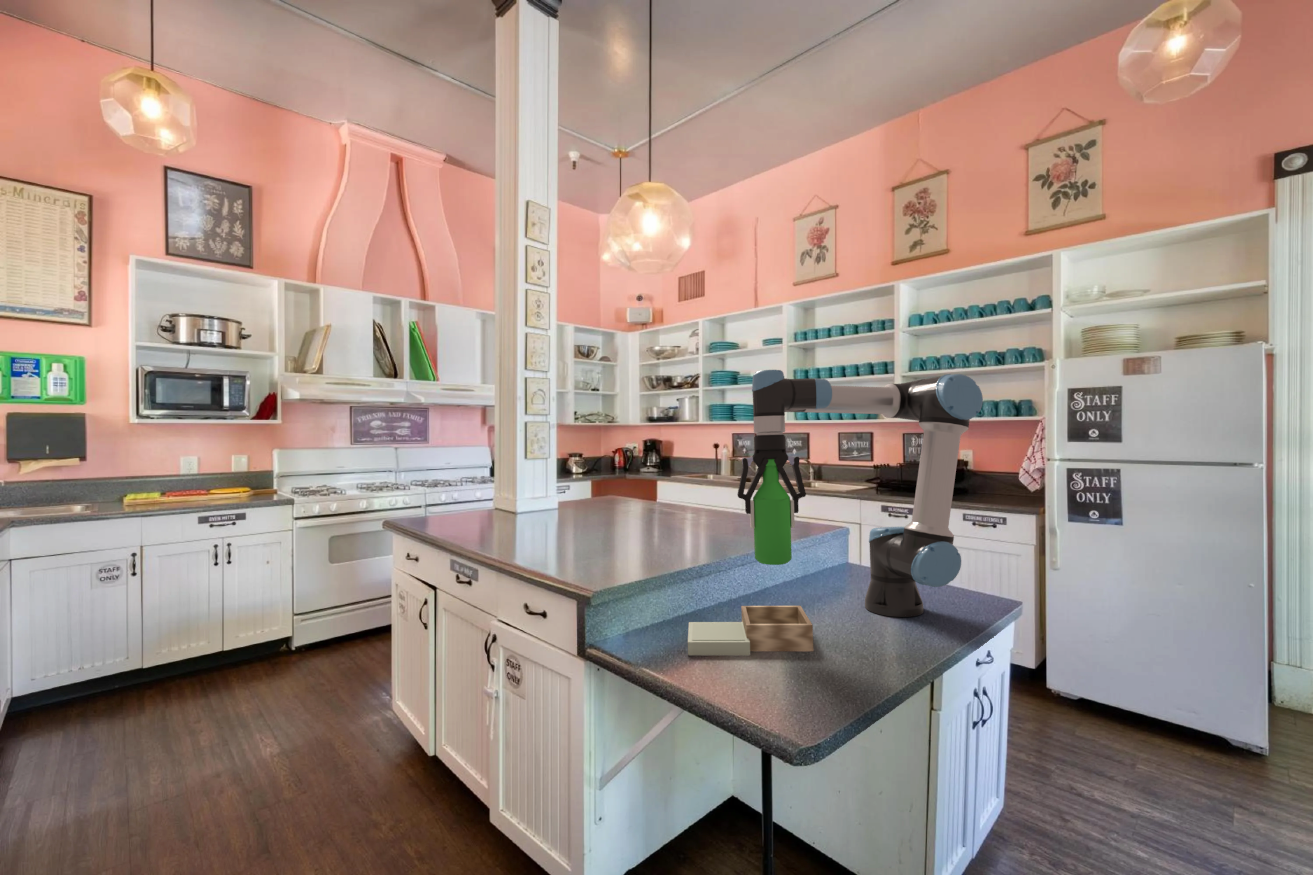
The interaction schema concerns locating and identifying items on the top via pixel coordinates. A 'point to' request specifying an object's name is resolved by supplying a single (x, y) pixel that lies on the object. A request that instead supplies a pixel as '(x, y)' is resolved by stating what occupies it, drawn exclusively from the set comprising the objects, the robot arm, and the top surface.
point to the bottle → (772, 520)
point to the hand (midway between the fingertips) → (772, 526)
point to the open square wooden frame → (777, 628)
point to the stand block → (717, 639)
